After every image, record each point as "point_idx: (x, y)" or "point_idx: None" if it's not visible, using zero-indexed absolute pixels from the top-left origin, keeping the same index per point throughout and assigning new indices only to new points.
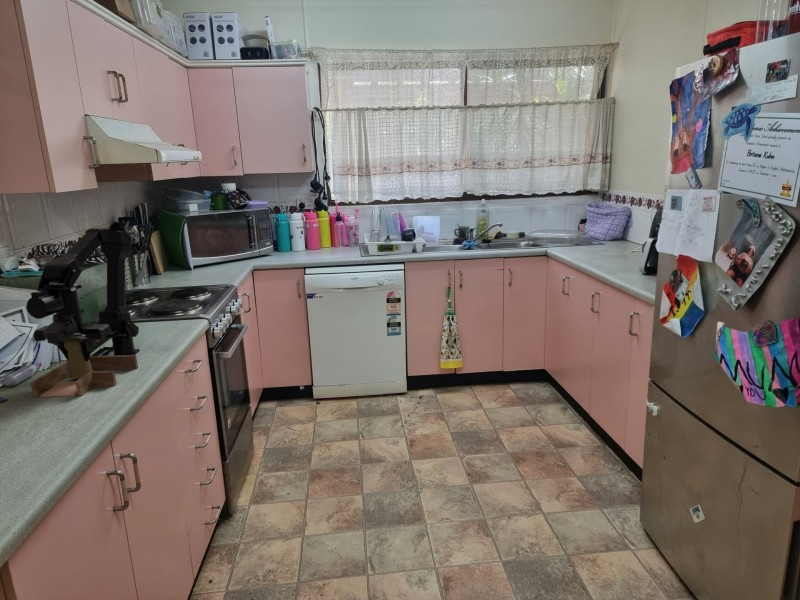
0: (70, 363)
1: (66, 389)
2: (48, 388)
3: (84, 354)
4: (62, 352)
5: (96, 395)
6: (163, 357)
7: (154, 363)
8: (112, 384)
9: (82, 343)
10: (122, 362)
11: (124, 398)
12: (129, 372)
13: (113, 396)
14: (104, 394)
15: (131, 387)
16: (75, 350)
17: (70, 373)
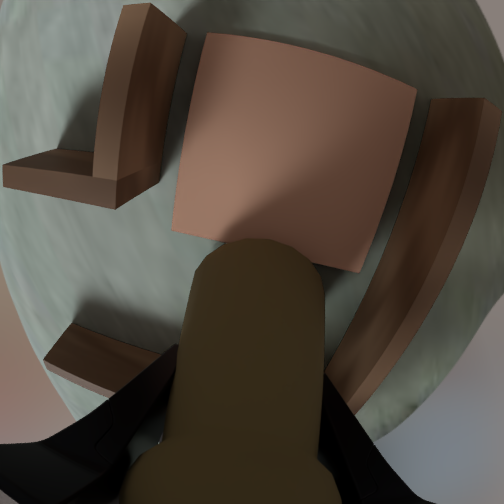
0: (292, 329)
1: (292, 125)
2: (408, 193)
3: (147, 385)
4: (367, 441)
5: (95, 39)
6: (60, 377)
7: (50, 345)
8: (57, 149)
9: (45, 471)
10: (102, 361)
11: (9, 30)
12: (74, 297)
13: (36, 38)
14: (67, 51)
15: (5, 126)
16: (201, 439)
17: (302, 275)
